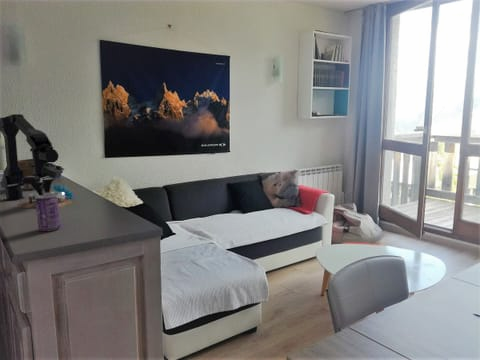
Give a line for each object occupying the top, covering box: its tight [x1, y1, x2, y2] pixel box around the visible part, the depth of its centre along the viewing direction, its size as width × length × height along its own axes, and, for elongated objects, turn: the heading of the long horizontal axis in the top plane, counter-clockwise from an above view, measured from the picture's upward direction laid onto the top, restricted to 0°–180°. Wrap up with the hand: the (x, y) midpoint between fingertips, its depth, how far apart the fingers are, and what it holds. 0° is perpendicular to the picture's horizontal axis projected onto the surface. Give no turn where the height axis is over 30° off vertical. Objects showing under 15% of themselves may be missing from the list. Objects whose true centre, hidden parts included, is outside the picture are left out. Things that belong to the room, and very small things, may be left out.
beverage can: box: [35, 194, 62, 232], centre depth 138 cm, size 7×7×12 cm
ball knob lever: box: [29, 191, 66, 200], centre depth 178 cm, size 16×4×3 cm, turn 81°
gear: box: [52, 185, 75, 199], centre depth 189 cm, size 11×6×10 cm
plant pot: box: [18, 158, 44, 191], centre depth 223 cm, size 16×16×16 cm
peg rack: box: [17, 195, 73, 209], centre depth 179 cm, size 20×10×4 cm, turn 80°
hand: (44, 196), depth 179 cm, fingers closed on ball knob lever, 3 cm apart
